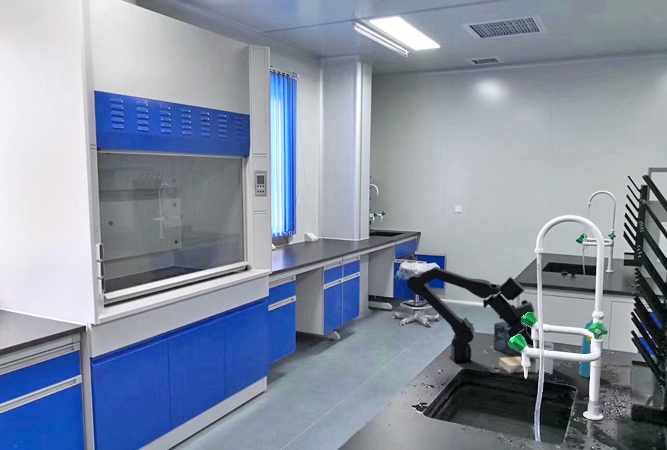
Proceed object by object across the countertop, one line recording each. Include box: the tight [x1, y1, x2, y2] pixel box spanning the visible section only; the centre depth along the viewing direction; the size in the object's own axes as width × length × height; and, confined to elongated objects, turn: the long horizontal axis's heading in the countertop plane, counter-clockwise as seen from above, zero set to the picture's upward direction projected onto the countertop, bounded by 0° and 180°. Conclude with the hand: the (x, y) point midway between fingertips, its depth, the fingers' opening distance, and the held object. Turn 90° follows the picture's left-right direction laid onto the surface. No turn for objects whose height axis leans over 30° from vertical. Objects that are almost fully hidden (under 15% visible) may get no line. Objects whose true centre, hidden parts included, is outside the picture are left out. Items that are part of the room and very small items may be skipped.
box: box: [493, 321, 518, 355], centre depth 200 cm, size 8×6×11 cm
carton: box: [534, 340, 554, 375], centre depth 179 cm, size 6×6×10 cm
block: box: [498, 356, 532, 374], centre depth 182 cm, size 8×8×3 cm
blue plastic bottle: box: [578, 318, 594, 379], centre depth 173 cm, size 7×5×19 cm, turn 144°
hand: (535, 341), depth 180 cm, fingers open, 9 cm apart
